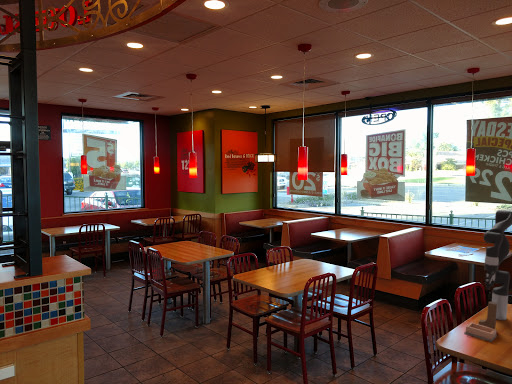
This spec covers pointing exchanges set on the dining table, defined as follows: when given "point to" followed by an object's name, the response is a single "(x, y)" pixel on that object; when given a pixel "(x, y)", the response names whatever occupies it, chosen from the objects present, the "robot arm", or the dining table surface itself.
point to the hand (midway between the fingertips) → (489, 287)
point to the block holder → (481, 332)
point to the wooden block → (490, 316)
